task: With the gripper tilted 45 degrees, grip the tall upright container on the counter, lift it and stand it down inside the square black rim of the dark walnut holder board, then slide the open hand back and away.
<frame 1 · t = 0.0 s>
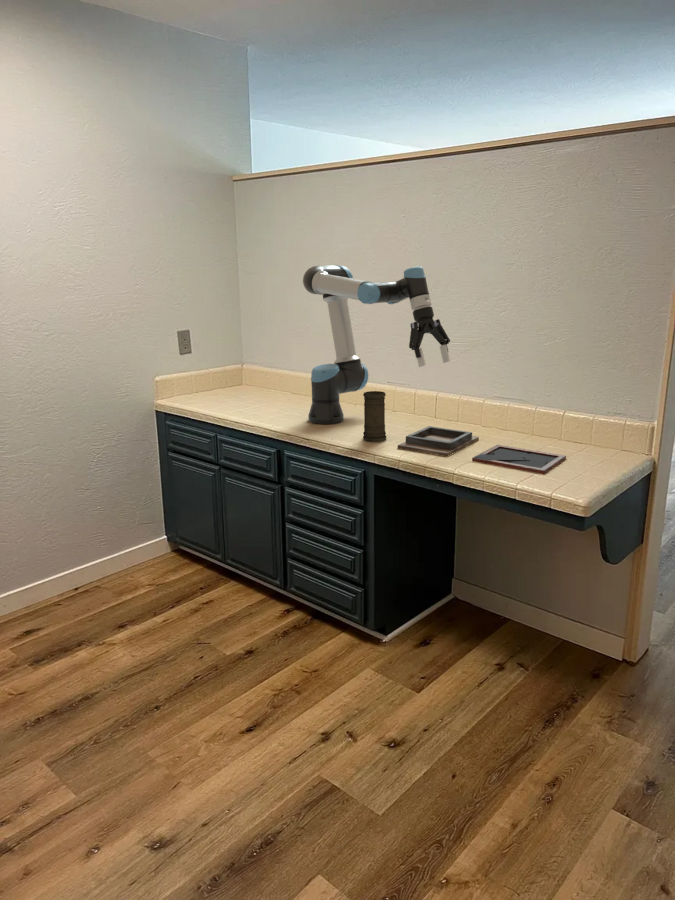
hand: (434, 364, 253), 28 cm above the worktop, tool tilted 20°, fingers open, 13 cm apart
holder: (438, 444, 250), on the worktop
picture frame: (518, 462, 229), on the worktop
container: (374, 439, 258), on the worktop
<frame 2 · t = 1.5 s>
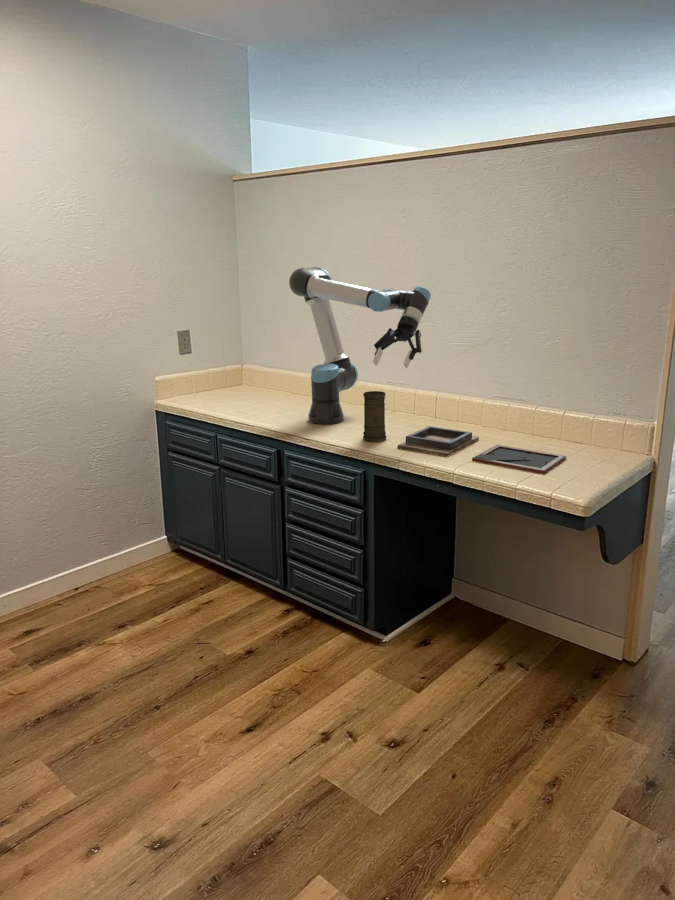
hand: (389, 364, 258), 27 cm above the worktop, tool tilted 45°, fingers open, 13 cm apart
nothing on the worktop moved.
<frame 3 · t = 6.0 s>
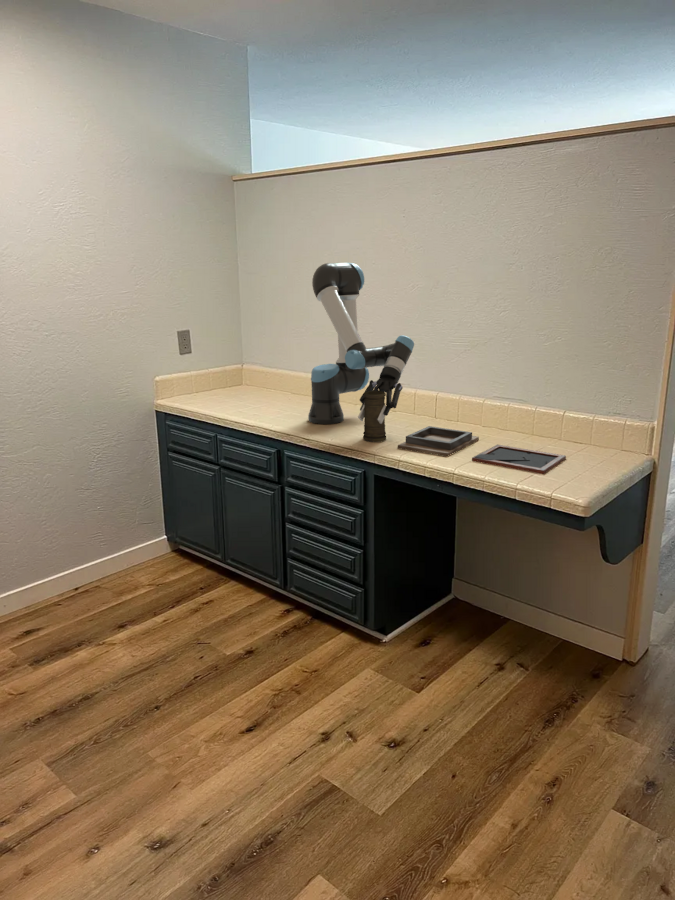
hand: (369, 420, 253), 8 cm above the worktop, tool tilted 45°, fingers closed on container, 8 cm apart
container: (374, 439, 258), on the worktop, touching gripper
everything else where it was.
when the fingers open (9 cm above the worktop, at t = 13.4 s): container stays where it is, resting on holder.
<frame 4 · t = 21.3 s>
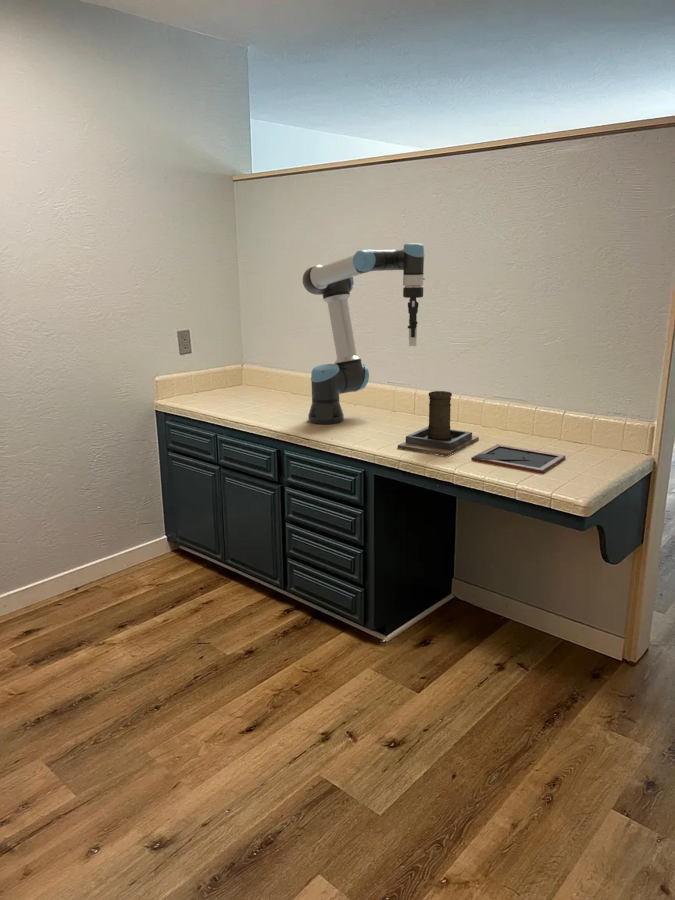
hand: (412, 343, 258), 35 cm above the worktop, tool pointing down, fingers open, 13 cm apart
container: (439, 441, 249), point 1 cm above the worktop, touching holder
everything else where it was.
at the end: container inside the target area on the holder (0.1 cm from its centre), point 1.0 cm above the holder's base; container tilted 0°; the gripper is holding nothing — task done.
